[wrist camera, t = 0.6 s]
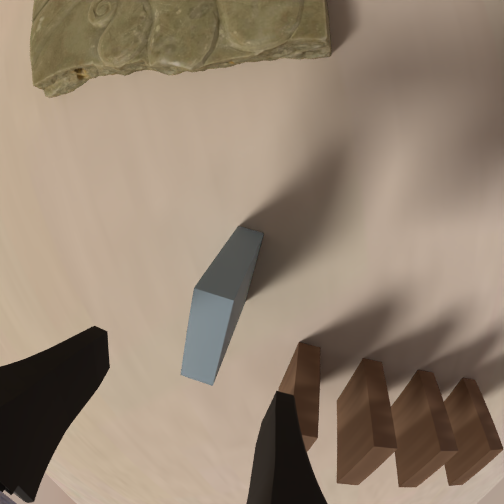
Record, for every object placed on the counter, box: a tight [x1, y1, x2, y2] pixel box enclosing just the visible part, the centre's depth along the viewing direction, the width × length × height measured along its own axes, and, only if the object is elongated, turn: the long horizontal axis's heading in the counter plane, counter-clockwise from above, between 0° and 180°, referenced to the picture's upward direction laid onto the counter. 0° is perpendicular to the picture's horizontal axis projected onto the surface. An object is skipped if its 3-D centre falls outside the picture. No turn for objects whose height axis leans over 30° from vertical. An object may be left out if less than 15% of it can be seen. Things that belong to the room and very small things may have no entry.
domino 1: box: [181, 226, 264, 386], centre depth 17 cm, size 2×5×8 cm, turn 166°
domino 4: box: [391, 370, 458, 487], centre depth 18 cm, size 2×5×8 cm, turn 167°
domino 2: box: [279, 342, 320, 452], centre depth 19 cm, size 2×5×8 cm, turn 166°
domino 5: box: [444, 378, 503, 486], centre depth 18 cm, size 2×5×8 cm, turn 167°
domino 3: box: [337, 358, 397, 485], centre depth 19 cm, size 2×5×8 cm, turn 166°
